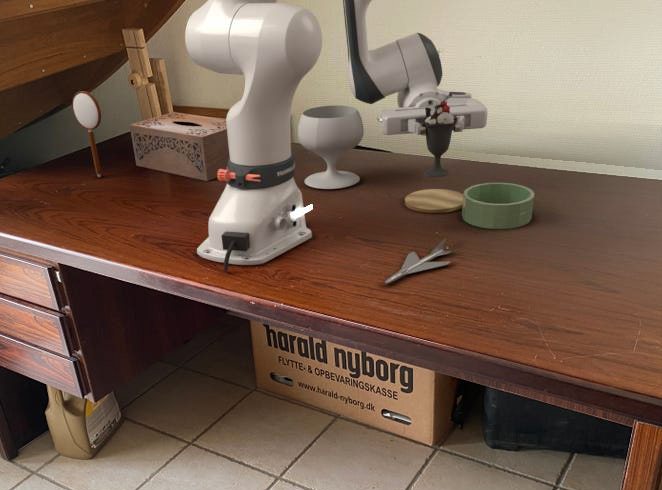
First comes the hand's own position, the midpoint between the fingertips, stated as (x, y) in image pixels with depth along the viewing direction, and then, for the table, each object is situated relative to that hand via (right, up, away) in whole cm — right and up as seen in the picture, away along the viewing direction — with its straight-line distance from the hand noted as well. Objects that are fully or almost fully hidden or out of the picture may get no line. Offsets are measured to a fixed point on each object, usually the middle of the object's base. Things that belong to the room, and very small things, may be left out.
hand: (440, 129), depth 135 cm
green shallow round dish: (+10, -17, 0) cm, 19 cm away
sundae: (+1, -7, +5) cm, 9 cm away
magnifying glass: (-73, +1, +40) cm, 84 cm away
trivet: (+1, -12, +8) cm, 15 cm away
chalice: (-18, -4, +24) cm, 31 cm away
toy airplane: (-7, -28, -16) cm, 33 cm away
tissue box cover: (-51, +5, +43) cm, 67 cm away
